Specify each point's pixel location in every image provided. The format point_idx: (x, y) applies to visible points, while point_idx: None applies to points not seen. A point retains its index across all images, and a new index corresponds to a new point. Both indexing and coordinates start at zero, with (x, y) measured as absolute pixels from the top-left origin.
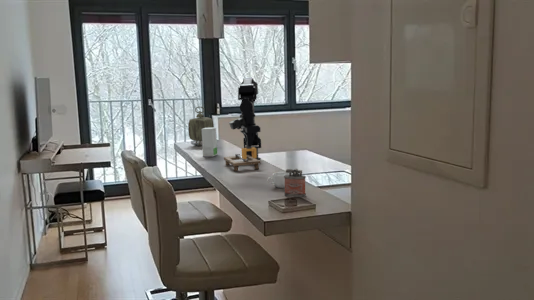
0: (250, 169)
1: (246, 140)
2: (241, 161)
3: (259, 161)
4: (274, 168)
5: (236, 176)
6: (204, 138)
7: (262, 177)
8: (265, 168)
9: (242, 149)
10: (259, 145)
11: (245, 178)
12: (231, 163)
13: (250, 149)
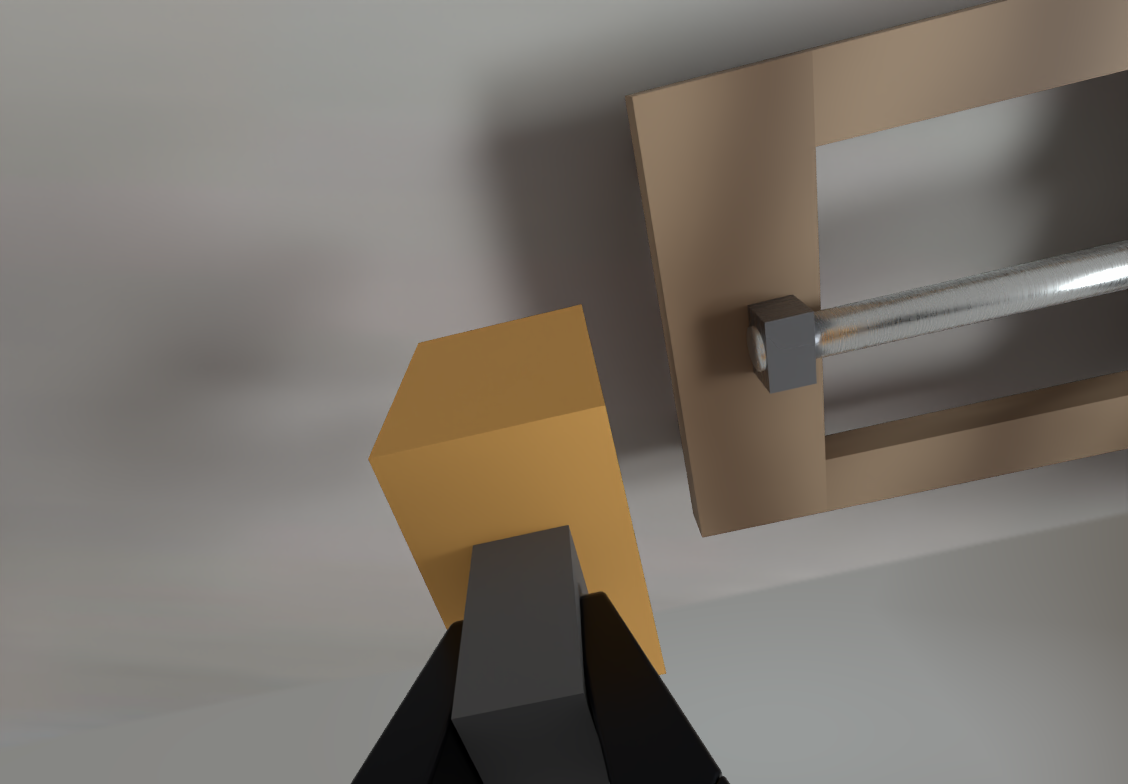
0: None
1: (604, 749)
2: (792, 263)
3: (700, 523)
4: (676, 595)
5: (213, 127)
6: None
7: (159, 466)
8: None
9: (512, 414)
10: None
11: (70, 262)
12: (807, 49)
13: (440, 594)
